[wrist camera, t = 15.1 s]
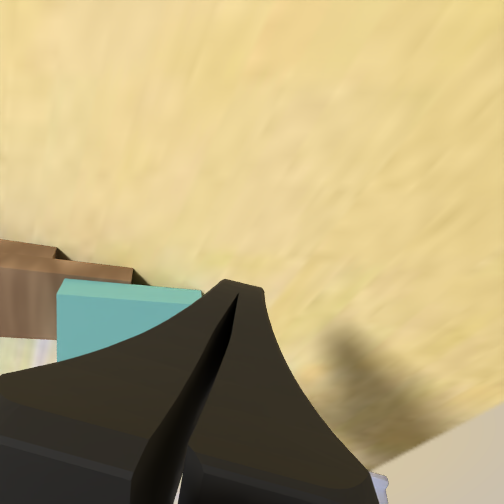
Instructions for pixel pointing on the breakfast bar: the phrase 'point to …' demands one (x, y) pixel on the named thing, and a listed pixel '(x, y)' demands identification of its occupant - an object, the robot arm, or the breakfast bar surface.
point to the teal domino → (111, 313)
